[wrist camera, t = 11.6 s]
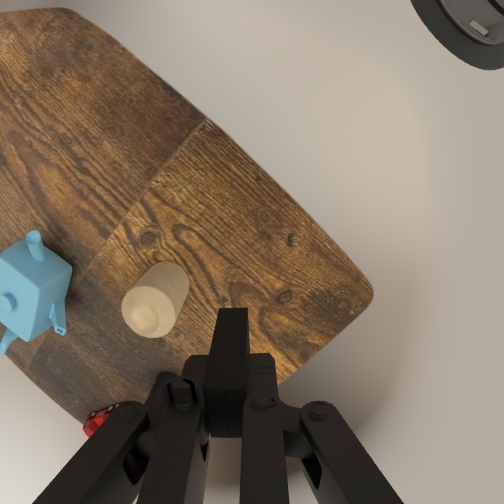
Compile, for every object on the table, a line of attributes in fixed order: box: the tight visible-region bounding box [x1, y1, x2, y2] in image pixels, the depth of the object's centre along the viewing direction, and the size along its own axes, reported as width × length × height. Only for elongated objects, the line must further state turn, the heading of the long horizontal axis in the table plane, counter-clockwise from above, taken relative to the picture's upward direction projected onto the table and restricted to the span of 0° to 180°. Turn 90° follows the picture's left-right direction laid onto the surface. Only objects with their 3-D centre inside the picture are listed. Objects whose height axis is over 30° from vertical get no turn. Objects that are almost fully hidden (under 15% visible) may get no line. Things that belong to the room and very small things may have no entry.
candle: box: [122, 261, 190, 338], centre depth 33 cm, size 6×6×10 cm
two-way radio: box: [144, 373, 177, 409], centre depth 34 cm, size 6×4×15 cm
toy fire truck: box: [83, 403, 120, 438], centre depth 39 cm, size 3×14×10 cm, turn 119°
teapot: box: [0, 230, 72, 355], centre depth 33 cm, size 18×14×10 cm
